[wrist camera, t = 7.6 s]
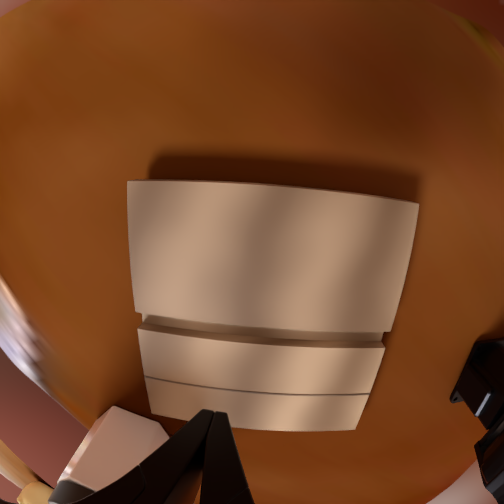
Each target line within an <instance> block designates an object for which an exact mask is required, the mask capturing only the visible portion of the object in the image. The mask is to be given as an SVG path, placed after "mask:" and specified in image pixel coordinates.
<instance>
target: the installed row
mask: <svg viewBox="0 0 504 504" xmlns="http://www.w3.org/2000/svg"><path fill="white" fill-rule="evenodd" d="M142 321H143V323H142V324H141V325H140V326H139V327H138V337H139V345H140V352H141V358H142V365H143V371H144V377H145V383H146V388H147V393H148V398H149V403H150V408H151V413H152V414H157V415H161V416H166V417H171V418H176V419H181V420H186V421H189V420H191V419H192V418H193V417H194V416H195V415H196V414H197V413H198V412H199V411H200V410H202V409H208V410H213V411H214V412H215V411H221V412H226V413H227V414H228V417H229V421H230V425H231V427H236V428H247V429H259V430H277V431H337V430H354V429H355V428H356V426H357V423H358V421H359V419H360V416H361V414H362V411H363V409H364V407H365V404H366V402H367V399H368V396H369V395H370V391H371V389H372V386H373V383H374V380H375V378H376V375H377V372H378V369H379V366H380V363H381V360H382V357H383V354H384V351H385V347H384V345H383V343H382V342H381V340H382V336H383V332H354V331H320V330H299V329H282V328H268V327H255V326H244V325H233V324H223V323H214V322H205V321H196V320H188V319H181V318H173V317H166V316H159V315H152V314H146V313H142Z"/></svg>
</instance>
